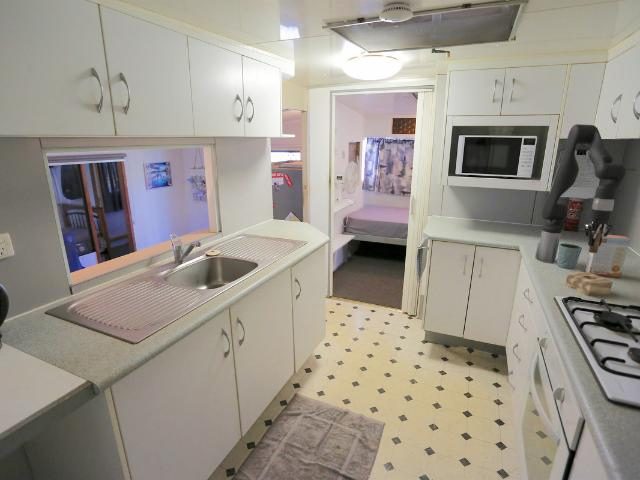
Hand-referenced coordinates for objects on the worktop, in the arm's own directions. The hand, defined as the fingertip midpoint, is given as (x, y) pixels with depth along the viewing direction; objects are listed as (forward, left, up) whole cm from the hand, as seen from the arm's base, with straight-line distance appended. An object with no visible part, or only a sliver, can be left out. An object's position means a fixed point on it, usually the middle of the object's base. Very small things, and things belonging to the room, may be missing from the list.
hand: (594, 245), depth 166 cm
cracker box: (-12, +24, -21) cm, 34 cm away
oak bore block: (+3, -2, -20) cm, 21 cm away
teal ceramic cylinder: (-25, +15, -21) cm, 35 cm away
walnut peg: (0, 0, -3) cm, 3 cm away
